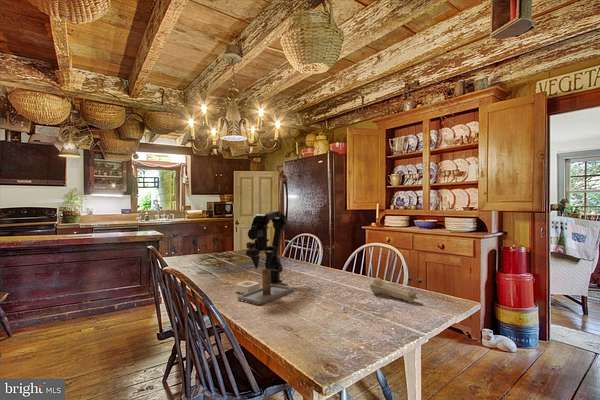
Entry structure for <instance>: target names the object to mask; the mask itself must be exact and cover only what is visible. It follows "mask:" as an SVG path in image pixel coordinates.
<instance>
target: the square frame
mask: <svg viewBox="0 0 600 400" xmlns="http://www.w3.org/2000/svg"><path fill="white" fill-rule="evenodd" d="M259 288H261V283H260V282H257V281H252V280H245V281H241V282H238V283H235V286H234V290H235V291H236V292H235V293H237V292H241V293H240V294H242V293H248V292H251V291H254V290H256V289H259Z"/></svg>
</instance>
